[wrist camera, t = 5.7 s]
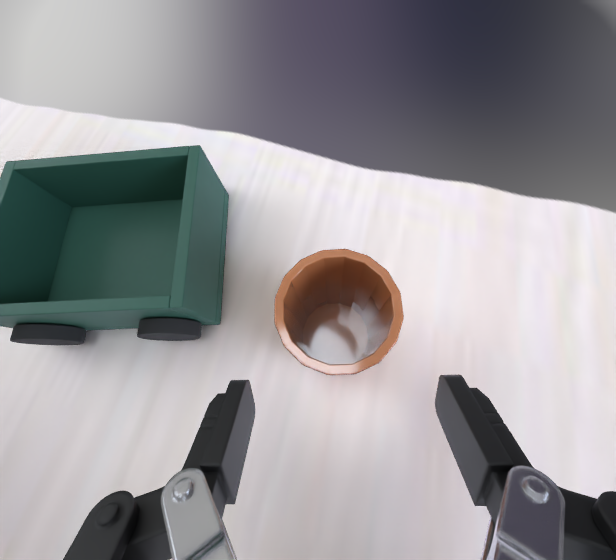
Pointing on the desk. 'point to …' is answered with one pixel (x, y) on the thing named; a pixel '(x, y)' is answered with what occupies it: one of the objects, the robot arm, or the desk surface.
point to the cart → (112, 239)
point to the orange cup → (338, 312)
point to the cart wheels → (73, 335)
